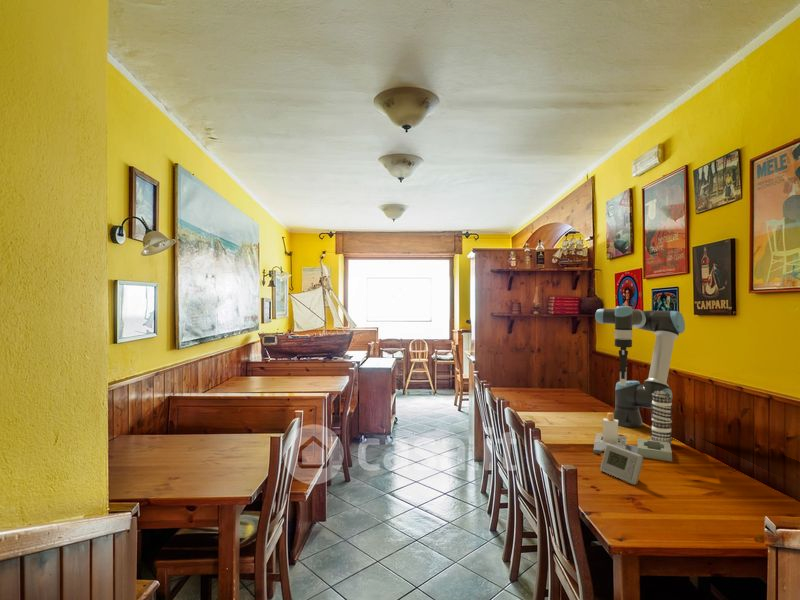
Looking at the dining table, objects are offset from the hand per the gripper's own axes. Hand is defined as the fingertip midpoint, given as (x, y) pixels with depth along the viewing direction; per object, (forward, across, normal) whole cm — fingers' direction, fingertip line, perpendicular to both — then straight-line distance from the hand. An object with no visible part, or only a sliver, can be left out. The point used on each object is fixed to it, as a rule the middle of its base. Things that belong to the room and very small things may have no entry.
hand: (623, 383), depth 221 cm
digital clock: (+26, +52, 0) cm, 58 cm away
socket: (+26, +19, -5) cm, 32 cm away
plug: (+26, +19, -5) cm, 32 cm away
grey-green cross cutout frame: (+26, +20, +12) cm, 35 cm away
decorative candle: (+28, +1, +16) cm, 32 cm away
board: (+27, +20, +4) cm, 34 cm away
